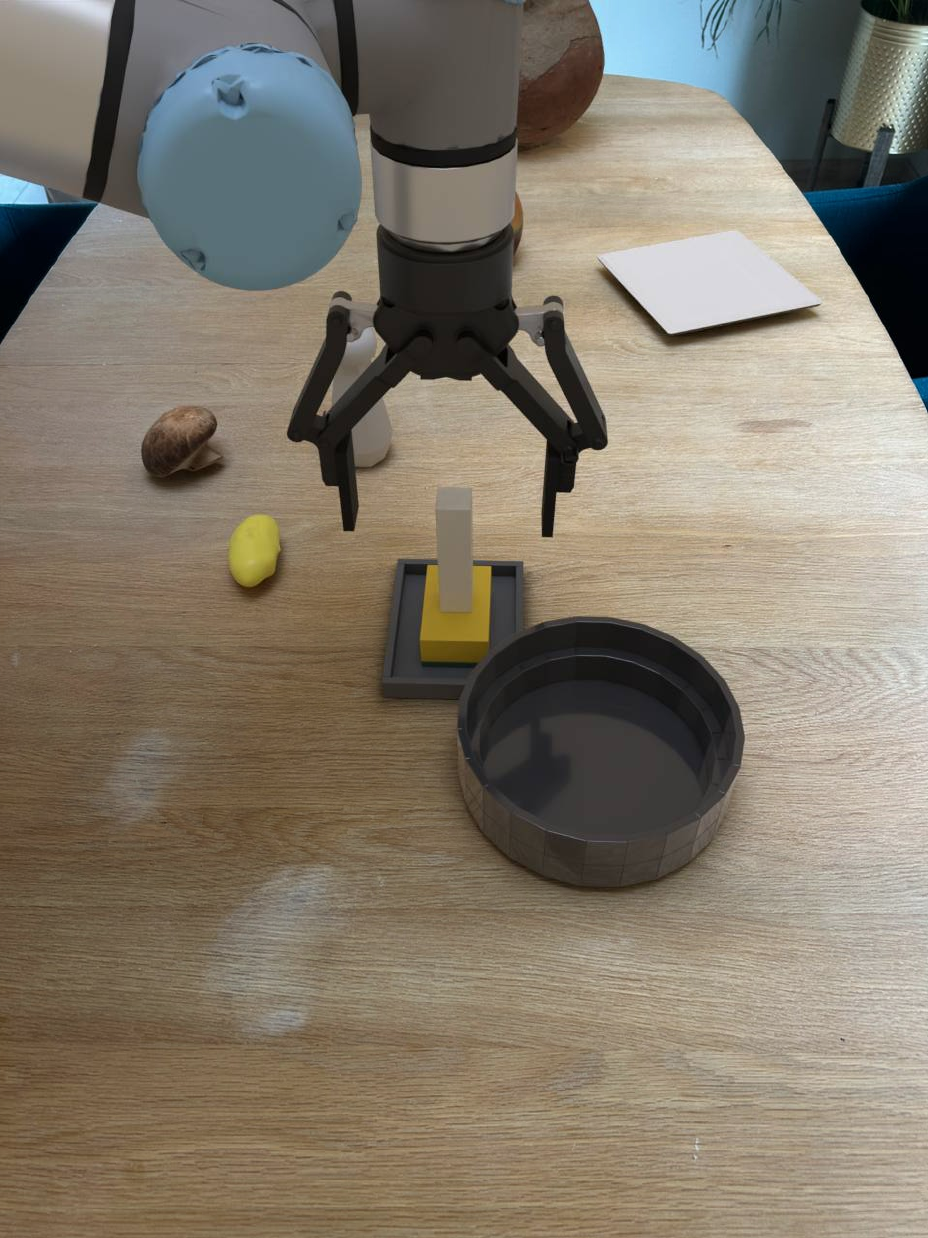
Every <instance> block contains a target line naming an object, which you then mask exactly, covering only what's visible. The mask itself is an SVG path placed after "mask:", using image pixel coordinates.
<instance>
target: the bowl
mask: <svg viewBox="0 0 928 1238" xmlns="http://www.w3.org/2000/svg"><path fill="white" fill-rule="evenodd" d="M456 723H457V724H456V740H457V742H456V744H457V766H458V767H457V769H458V771H457V772H458V779H459V783H460V788H461V792H462V795H463V799H464V803H465V805H466V808H467V809H468V812H470V814H471V816H472V817H473V819H474V821H475V822H476V824H477V825H478V827H479V829H480V830H481V832H482V833H483V834H484V836H485V837H487V838H488V839H489V841H491V842H492V843H493V844H494V845H495V846H496V847H497V848H498V849H499V850H500V851H502V852H503V853H504V854H505V855H506V856H507V857H508V858H510V859H511V860H513V861H515V862H517V863H519V864H521V865H522V866H524V867H526V868H527V869H529V870H532V871H533V872H535V873H537V874H538V875H541V876H542V877H545V878H549V879H553V880H556V881H561V882H564V883H568V884H571V885H575V886H579V887H580V886H582V887H606V888H607V887H608V888H609V887H610V888H621V887H626V886H631V885H636V884H641V883H645V882H651V881H655V880H659V879H660V878H662V877H664V876H666V875H668V874H670V873H671V872H673V871H676V870H677V869H679V868H681V867H683V866H685V865H687V864H688V863H690V862H691V861H692V860H693V859H694V858H695V857H696V856H697V855H698V854H699V853H700V852H701V851H702V850H703V849H705V848H706V846H708V845H709V844H710V843H711V842H712V840H713V839H714V837H715V836H716V833H717V831H718V829H719V828H720V826H721V824H722V822H723V821H724V818H725V816H726V815H727V812H728V808H729V805H730V803H731V799H732V797H733V793H734V789H735V787H736V784H737V780H738V777H739V773H740V770H741V767H742V762H743V755H744V749H745V742H746V735H745V729H744V725H743V724H744V723H743V718H742V713H741V708H740V706H739V704H738V702H737V700H736V698H735V696H734V694H733V692H732V690H731V689H730V686H729V685H728V683H727V681H726V680H725V678H724V677H723V676H722V675H721V674H720V673H719V672H718V670H717V669H716V668H715V667H714V666H713V665H712V664H711V663H710V662H709V660H707V659H706V657H704V656H703V655H702V654H701V653H699V652H697V651H696V650H695V649H693V648H692V647H690V646H689V645H687V644H686V643H685V642H683V641H682V640H680V639H679V638H677V637H675V635H672V634H669V633H667V632H664V631H662V630H660V629H658V628H654V627H653V626H649V625H647V624H645V623H641V622H636V621H632V620H626V619H622V618H617V617H612V616H590V615H589V616H586V615H585V616H583V615H582V616H581V615H576V616H575V615H574V616H570V617H564V618H558V619H552V620H546V621H545V620H544V621H542V622H539V623H537V624H535V625H531V626H529V627H526V628H523V630H521V631H519V632H516V633H514V634H512V635H511V636H509V637H508V638H507V639H505V640H504V641H502V642H501V643H499V644H498V645H497V646H495V647H494V648H492V649H491V650H490V651H489V652H487V654H486V655H485V656H484V657H483V658H482V660H481V661H480V662H479V663H478V665H477V666H476V667H475V668H474V669H473V671H472V672H471V673H470V675H469V677H468V679H467V682H466V684H465V687H464V689H463V691H462V694H461V696H460V699H458V705H457V721H456Z"/></svg>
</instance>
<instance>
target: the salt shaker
mask: <svg viewBox="0 0 928 1238" xmlns="http://www.w3.org/2000/svg"><path fill="white" fill-rule="evenodd" d="M377 348H378V340H377V336H376V333H375V330H374V329H373V327H368V328H366V329H364V331H363V332H362V335H361V337H360V338H359V339H358V340H355V341H354V342H348V341H347V346H346V350H345V354H344V356H343V359H342V361H341V363H340V366H339V368H338V370H337V372H336V374H335V376H334V378H333V380H332V390H331V391H332V392H331V404H330V405H331V407H332V406H333V405H334V404H335V403H336V402H337V401H338V400H339V399H340V397H341V396H342V395H343V394H344V393H345V392H346V391H347V390H348V389H349V388H350V386H351V385H352V384H353V383H354V382H355V381H356V380H357V379H358V378H359V377H360V375H361V374H362V373H363V372H364V371H365V370H366V369H367V368H368V367H369V366H370V364H371V363H372V362H373V361H372V360H373V358H375V357H376V353H377ZM383 397H384V396H383ZM383 397H382V398H381V399H380V400H379V401H378V402H377V403H376V404H375V405H374V406H373V407H372V408H371V409H370V411H369V412H368V413H367V414H366V415H365V416H364V417H363V418H362V419H361V420H360V421H359V422H358V423H357V424H356V425H355V426H354V427H353V429H352V439H353V450H354V460H355V468H372V467H374V466H376V465H377V464H379V463H380V462H382V461H383V460H384V459H385V458H386V456H387V453H388V451H389V448H390V445H391V443H392V438H393V432H394V431H393V430H394V429H393V426H392V422H391V420H390V417H389V413H388V410H387V407H386V404H385V401H384V398H383ZM331 407H330V408H331Z"/></svg>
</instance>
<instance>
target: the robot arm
mask: <svg viewBox="0 0 928 1238" xmlns="http://www.w3.org/2000/svg"><path fill="white" fill-rule="evenodd" d="M524 2H526V0H0V175H3V176H6V177H9V178H12V179H17V180H20V181H23V182H27V183H30V184H33V185H37V186H41V187H44V188H48V189H51V190H54V191H57V192H60V193H61V192H62V193H64V194H68V195H71V196H74V197H77V198H81V199H85V200H89V201H90V202H91V201H92V202H95V203H97V204H98V203H99V204H102V205H104V206H108V207H111V208H113V209H116V210H119V211H122V212H126V213H129V214H132V215H134V216H135V215H136V216H138V217H142V218H145V219H149V221H150V222H151V223H152V225H153V227H154V229H155V230H156V233H157V234H158V236H159V237H160V239H161V240H162V242H163V243H164V244H165V246H166V247H167V248H168V249H169V250H170V251H171V252H172V253H173V254H174V255H175V256H176V257H177V258H178V259H179V260H180V261H181V262H182V263H183V264H184V265H186V266H187V267H188V268H190V269H191V270H193V271H194V272H196V273H197V274H198V275H199V276H201V277H203V278H204V279H206V280H208V281H209V282H212V283H215V284H217V285H219V286H222V287H226V288H230V289H234V290H239V291H247V292H261V291H262V292H264V291H265V292H266V291H273V290H280V289H282V288H286V287H290V286H293V285H295V284H298V283H300V282H303V281H305V280H307V279H309V278H311V277H313V276H314V275H316V274H317V273H318V272H320V271H321V270H322V269H323V268H325V267H326V266H327V265H328V264H329V263H330V262H332V260H333V259H334V258H335V257H336V256H337V255H338V253H339V251H341V250H342V248H343V247H344V245H345V243H346V242H347V240H348V238H349V236H350V234H351V233H352V231H353V229H354V226H355V225H356V224H357V223H358V218H359V211H360V208H361V201H362V193H363V176H362V175H363V174H362V167H361V161H360V155H359V148H358V143H359V142H358V139H357V135H356V121H355V119H354V118H353V117H356V116H357V115H359V116H360V115H368V117H369V135H370V137H369V138H370V139H369V143H370V144H369V145H370V158H371V173H372V187H373V188H372V189H373V190H372V192H373V205H374V216H375V218H376V220H377V222H378V223H379V224H378V226H377V228H376V233H375V235H376V249H377V250H376V251H377V267H378V268H377V269H378V281H379V298H378V300H377V302H376V303H370V302H362V301H355V300H353V297H352V296H351V294H350V293H348V292H347V291H344V290H338V291H336V292H334V294H333V295H332V297H331V301H330V305H329V308H328V311H327V315H326V320H325V321H326V323H325V338H324V339H323V342H322V344H321V347H320V349H319V351H318V352H317V353H318V354H317V355H316V358H315V360H314V362H313V365H312V366H311V369H310V371H309V374H308V376H307V378H306V380H305V382H304V385H303V387H302V389H301V391H300V393H299V396H298V398H297V400H296V402H295V405H294V407H293V409H292V412H291V416H290V419H289V423H288V426H287V429H286V436H287V438H288V440H290V441H291V442H293V443H301V442H304V441H305V442H308V443H311V444H312V445H314V446H315V447H316V448H317V450H318V457H319V465H320V473H321V480H322V482H323V484H324V486H325V487H337V488H338V497H339V503H340V514H341V521H342V531H343V532H355V529H356V524H357V519H358V514H359V508H360V503H359V494H358V481H357V474H356V473H357V472H356V467H355V460H354V450H353V439H352V429H353V427H354V426H355V425H356V424H357V423H358V422H359V421H360V420H361V419H362V418H363V417H364V416H365V415H366V414H367V413H368V412H369V411H370V409H371V408H372V407H373V406H374V405H375V404H376V403H377V402H378V401H379V400H380V399H381V398H382V397H384V396H385V395H386V394H387V393H388V392H389V391H390V390H391V389H394V388H396V387H397V386H398V385H399V384H400V383H401V382H402V381H403V380H404V378H406V376H407V375H409V374H410V372H411V373H412V374H414V375H417V376H419V379H420V380H421V381H423V380H424V381H435V380H438V379H439V380H440V379H443V378H446V379H447V378H448V379H452V380H455V381H460V382H461V381H463V382H472V380H473V378H474V377H477V376H480V375H482V377H483V378H484V379H485V380H486V381H487V382H488V383H489V385H490V386H492V388H493V389H495V390H496V391H497V392H499V391H501V392H502V394H503V395H505V397H506V398H507V399H508V400H509V401H511V403H512V404H513V406H515V408H517V410H518V411H519V412H520V413H521V414H522V415H523V416H524V417H525V418H526V420H528V421H529V422H530V424H531V425H532V426H533V427H534V428H535V429H536V430H537V431H538V432H539V433H540V434H541V436H543V438H544V439H545V440H546V441H545V442H546V443H545V455H544V456H545V458H544V470H543V471H544V472H543V482H542V483H543V485H542V498H541V511H540V513H541V515H540V518H541V521H540V522H541V538H552V539H553V537H554V528H555V515H556V505H557V494H560V493H561V494H564V493H565V494H571V493H572V491H573V489H574V488H575V481H576V472H577V463H578V461H579V458H580V457H579V455H580V453H581V452H583V451H585V450H588V449H592V450H593V451H602V450H605V449H606V448H607V447H608V444H609V438H608V437H609V436H608V427H607V418H606V415H605V413H604V411H603V409H602V406H601V405H600V403H599V400H598V399H597V396H596V394H595V392H594V390H593V387H592V385H591V383H590V381H589V379H588V376H587V375H586V373H585V370H584V368H583V366H582V364H581V362H580V359H579V358H578V355H577V353H576V351H575V349H574V346H573V344H572V342H571V340H570V339H569V336H568V333H567V332H566V328H565V326H566V325H565V307H564V301H563V299H562V298H561V297H560V296H558V295H549V296H547V297H546V298H545V299H543V302H542V304H540V305H538V304H537V305H525V306H517V304H516V302H515V300H514V298H513V271H514V270H513V269H514V268H513V266H514V256H513V247H514V229H513V227H512V225H511V224H510V222H511V221H512V219H513V217H514V214H515V191H516V187H517V186H516V185H517V165H518V151H517V145H518V140H517V107H518V89H519V72H520V55H521V38H522V20H523V3H524ZM516 192H517V191H516ZM368 327H370V328H373V330H374V332H376V334H377V335H378V336H379V337H380V338H381V339H382V341H383V342H384V343H385V345H384V346H383V347H382V349H381V351H380V353H379V354H378V356H376V358H375V359H374V360H373V361H371V362H372V363H371V364H370V366H369V367H368V368H367V369H366V370H365V371H364V372H363V373H362V374H361V375H360V377H359V378H358V379H357V380H356V381H355V382H354V383H353V384H352V385H351V386H350V388H349V389H348V390H347V391H346V392H345V393H344V394H343V395H342V396H341V397H340V399H339V400H338V401H337V402H336V403H335V404H334V405H333V406H332V407H330V409H328V410H326V409H325V410H323V411H322V415H320V414H318V412H319V411H320V408H321V407H322V404H323V402H324V399H325V397H326V395H327V393H328V391H329V389H330V387H331V384H333V378H334V376H335V374H336V372H337V370H338V368H339V366H340V363H341V361H342V359H343V356H344V354H345V350H346V346H347V341H348V342H354V341H355V340H358V339H359V338H360V337H361V335H362V332H363V331H364V329H366V328H368ZM519 331H523V332H526V333H527V334H528V335H529V337H530V341H531V342H532V343H533V344H535V345H536V346H537V347H541V348H543V347H544V351H545V355H546V360H547V362H548V364H549V367H550V368H551V371H552V373H553V375H554V377H555V379H556V381H557V383H558V385H559V387H560V389H561V391H562V393H563V396H564V398H565V399H566V401H567V403H568V405H569V408H570V409H571V411H572V414H573V416H574V418H575V420H576V422H575V421H574V420H573V419H572V418H571V417H570V416H569V414H568V413H567V412H566V411H565V409H563V407H562V406H560V405H559V403H558V402H557V401H556V400H555V399H554V398H553V396H552V395H551V394H550V393H549V392H548V391H547V389H545V388H544V387H543V386H542V384H541V383H540V382H539V381H538V379H536V377H534V375H533V374H532V373H531V372H530V371H529V370H528V369H527V367H526V366H525V365H524V364H523V363H522V362H521V361H520V359H519V358H518V357H517V354H516V352H515V350H514V349H513V347H512V346H511V345H510V343H511V342H512V340H513V339H514V338H515V337H516V335H517V334H518V332H519Z"/></svg>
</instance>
